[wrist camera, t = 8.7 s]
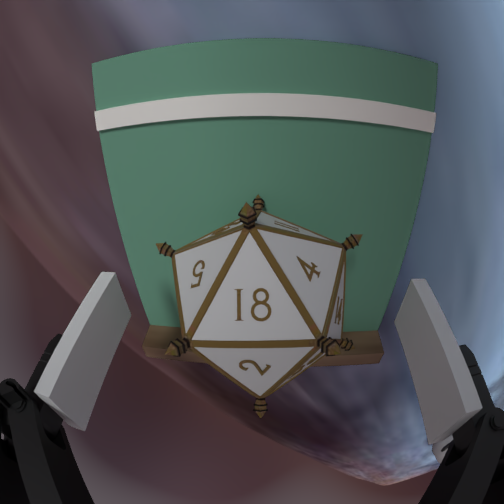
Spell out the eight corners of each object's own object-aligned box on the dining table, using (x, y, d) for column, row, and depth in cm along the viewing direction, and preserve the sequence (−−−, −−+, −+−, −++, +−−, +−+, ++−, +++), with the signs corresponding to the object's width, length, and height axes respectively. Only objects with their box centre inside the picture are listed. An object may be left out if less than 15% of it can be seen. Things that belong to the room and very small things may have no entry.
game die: (282, 189, 18) (432, 196, 9) (287, 319, 20) (405, 394, 11) (127, 205, 14) (154, 223, 5) (154, 355, 16) (215, 494, 7)
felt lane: (95, 63, 11) (89, 64, 10) (433, 63, 10) (440, 63, 9) (151, 320, 20) (149, 326, 20) (376, 326, 19) (378, 332, 19)
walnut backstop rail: (151, 320, 20) (141, 346, 18) (376, 326, 19) (384, 352, 17) (155, 331, 21) (146, 356, 19) (372, 336, 20) (378, 363, 18)
